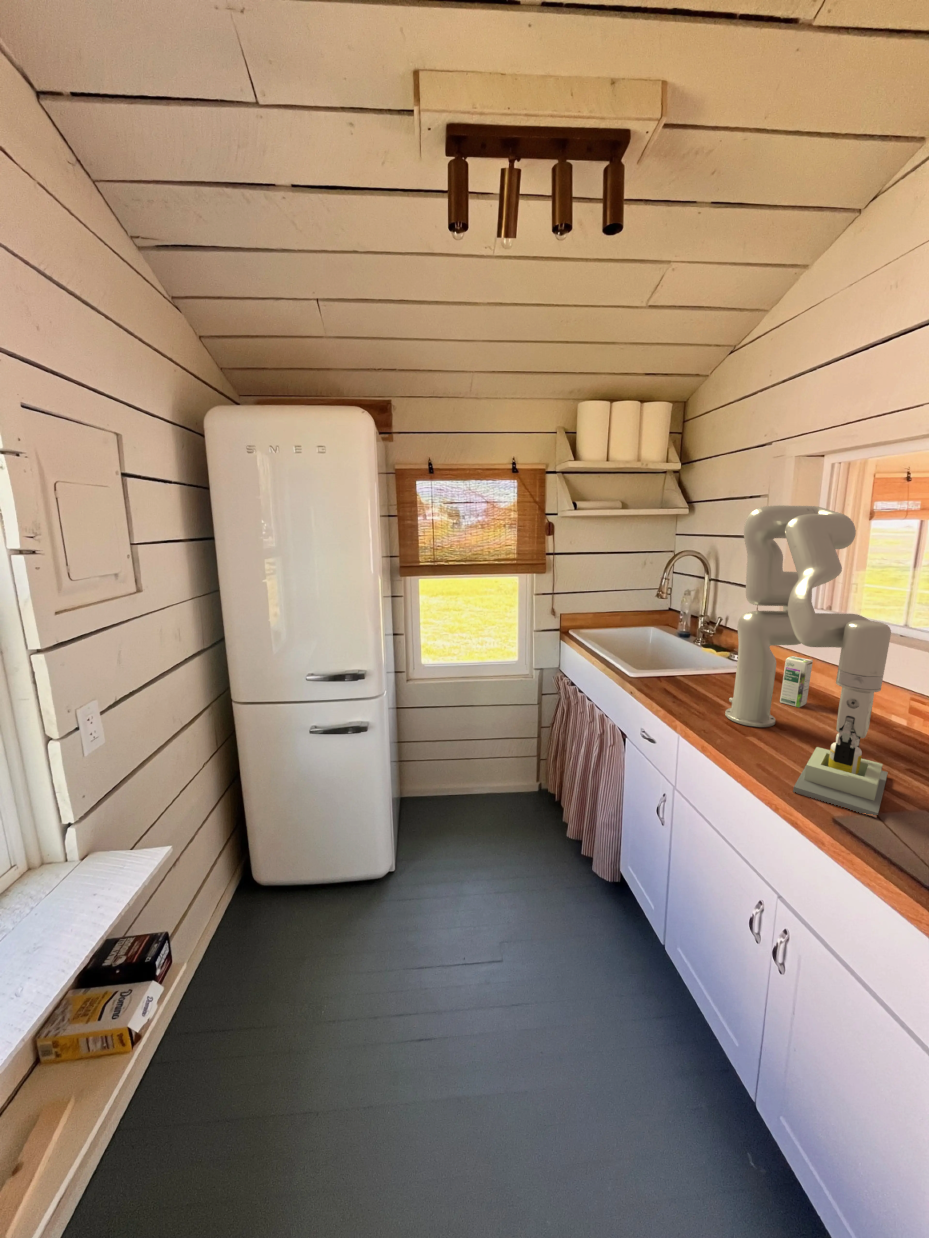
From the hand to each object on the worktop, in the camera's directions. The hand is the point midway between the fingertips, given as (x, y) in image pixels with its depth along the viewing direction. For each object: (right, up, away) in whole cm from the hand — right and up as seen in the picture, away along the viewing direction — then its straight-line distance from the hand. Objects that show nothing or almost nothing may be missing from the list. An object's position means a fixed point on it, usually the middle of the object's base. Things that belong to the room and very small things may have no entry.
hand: (846, 755), depth 109 cm
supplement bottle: (0, -6, +1) cm, 6 cm away
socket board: (0, -7, +1) cm, 7 cm away
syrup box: (+20, +3, +49) cm, 53 cm away
